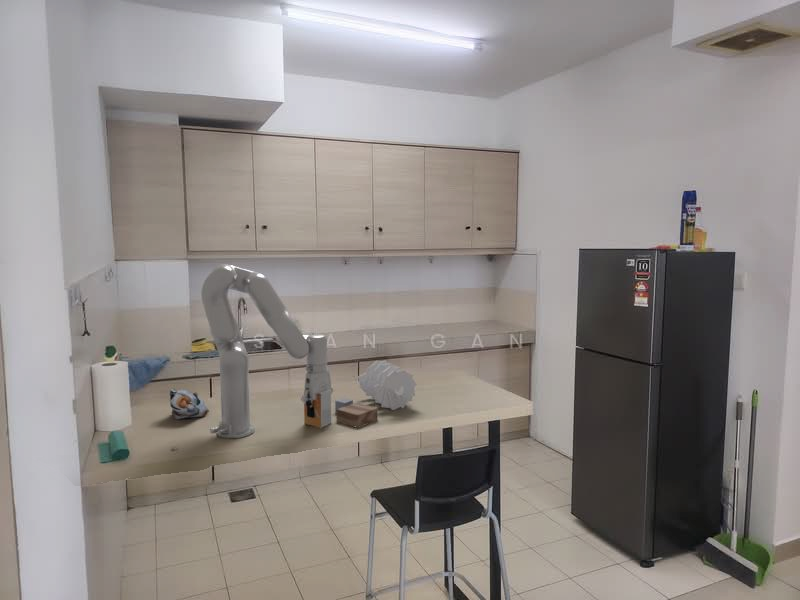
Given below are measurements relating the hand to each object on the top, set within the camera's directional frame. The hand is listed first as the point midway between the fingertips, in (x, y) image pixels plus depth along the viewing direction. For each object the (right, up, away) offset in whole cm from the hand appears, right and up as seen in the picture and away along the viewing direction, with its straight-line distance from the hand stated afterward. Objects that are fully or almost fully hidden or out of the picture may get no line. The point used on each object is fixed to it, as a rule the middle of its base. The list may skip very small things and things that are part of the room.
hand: (317, 414), depth 203 cm
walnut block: (+14, -4, +4) cm, 15 cm away
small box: (0, -4, 0) cm, 4 cm away
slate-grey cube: (+9, -2, +14) cm, 16 cm away
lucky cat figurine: (-51, -3, +8) cm, 52 cm away
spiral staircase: (+25, -1, +25) cm, 36 cm away
